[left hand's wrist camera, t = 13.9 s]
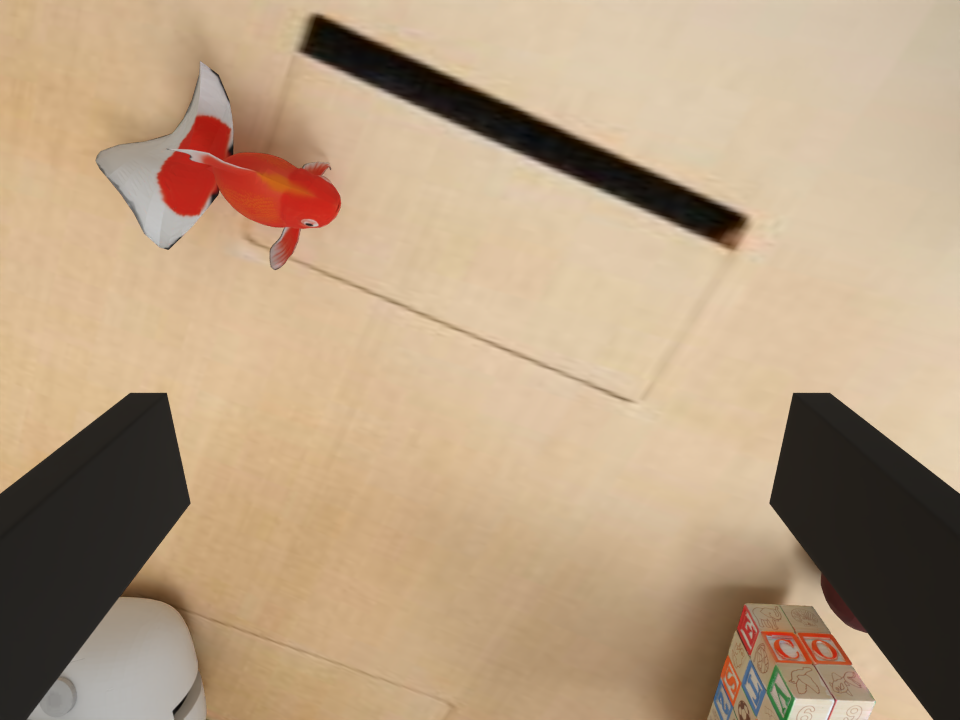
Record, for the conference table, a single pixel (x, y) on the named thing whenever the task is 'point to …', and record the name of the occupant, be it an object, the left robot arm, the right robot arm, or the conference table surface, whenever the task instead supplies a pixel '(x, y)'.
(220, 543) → the conference table surface
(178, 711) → the projector
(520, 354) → the conference table surface
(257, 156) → the fish
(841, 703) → the stack of blocks
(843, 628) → the conference table surface
